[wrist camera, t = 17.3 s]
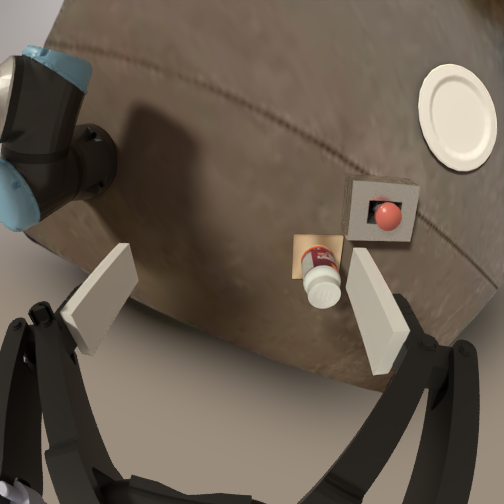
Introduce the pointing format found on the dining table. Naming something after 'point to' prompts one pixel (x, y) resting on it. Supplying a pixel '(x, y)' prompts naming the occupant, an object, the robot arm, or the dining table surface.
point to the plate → (457, 117)
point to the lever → (386, 215)
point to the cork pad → (310, 240)
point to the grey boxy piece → (379, 189)
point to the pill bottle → (320, 276)
